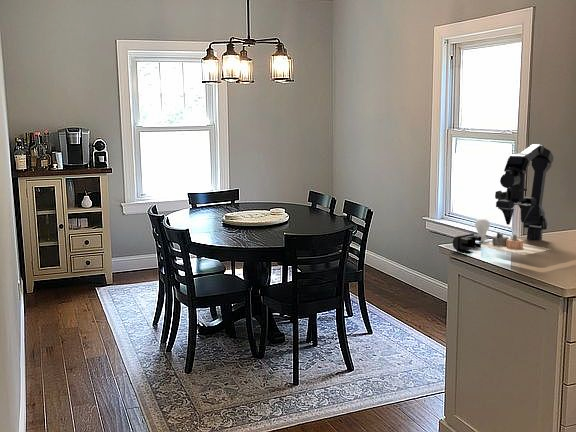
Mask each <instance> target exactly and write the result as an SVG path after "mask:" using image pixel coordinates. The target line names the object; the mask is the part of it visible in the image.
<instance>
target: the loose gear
mask: <svg viewBox="0 0 576 432" xmlns="http://www.w3.org/2000/svg"><path fill="white" fill-rule="evenodd" d="M523 244H524V239H521V238H517V241H513V238H509V239H507V240H506V247H508V248H514V249H517V248H520V249H521V248H523Z"/></svg>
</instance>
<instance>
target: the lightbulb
mask: <svg viewBox="0 0 576 432" xmlns="http://www.w3.org/2000/svg"><path fill="white" fill-rule="evenodd" d="M474 226H475V228H476V231H477V236H479V237H481V241H479V242H480V243H485V241H486V236H487V232H488V230H489V229H490V226H491V224H490V220H488V219H487V218H485V217H480V218H477V219H476V221H475V223H474Z"/></svg>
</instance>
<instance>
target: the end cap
mask: <svg viewBox="0 0 576 432" xmlns="http://www.w3.org/2000/svg"><path fill="white" fill-rule="evenodd" d="M476 241H479V242H480V241H481V237H479V236H478V235H475V233H474V232H473V233H467V234H464V235H463V234H462V235H457V236H455V237H454V238H453V239H452V247H453V248H454V250H456V252H458V253H459V254H466V255H468V254H472V253H474V251H471V250H472V248H473V249H480V248H481V247H482V246H481V244H482V243H479V242H476Z"/></svg>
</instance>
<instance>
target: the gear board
mask: <svg viewBox="0 0 576 432" xmlns="http://www.w3.org/2000/svg"><path fill="white" fill-rule="evenodd" d="M507 239H510V237H509V236H505V235H503V233H500V232H496V235H494V236H492V241H488V242H481V243H480V244H481V247H486V248H491V249H494V250H498V251H499V250H500V251H503V252H508V253H512V254H519V255H523V256H528V255H531V254H536V253H541V252H546V251H551V250H552V248H546V247H543V246H537V245H532V244H527V243H523V248H521V249H520V248H517V249H514V248H508V247H506V240H507ZM512 239H513V241H517V239H518V236H517V234H515V233H514V234H513V235H512Z"/></svg>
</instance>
